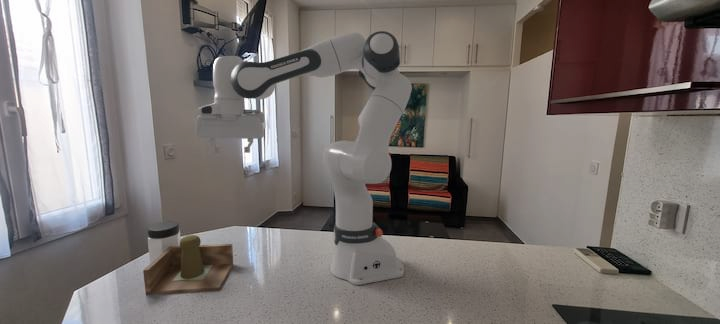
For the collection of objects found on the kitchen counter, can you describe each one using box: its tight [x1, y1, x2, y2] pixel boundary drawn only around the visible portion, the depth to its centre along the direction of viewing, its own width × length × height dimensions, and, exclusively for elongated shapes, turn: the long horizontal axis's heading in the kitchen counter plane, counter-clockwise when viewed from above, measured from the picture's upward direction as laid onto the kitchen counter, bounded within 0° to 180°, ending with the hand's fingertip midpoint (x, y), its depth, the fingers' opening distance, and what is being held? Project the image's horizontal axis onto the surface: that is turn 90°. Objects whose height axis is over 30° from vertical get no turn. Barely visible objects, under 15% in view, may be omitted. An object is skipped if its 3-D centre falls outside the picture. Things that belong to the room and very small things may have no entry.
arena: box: [142, 243, 234, 296], centre depth 85 cm, size 18×14×7 cm
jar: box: [147, 220, 182, 265], centre depth 94 cm, size 9×8×12 cm
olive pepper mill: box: [179, 234, 204, 279], centre depth 85 cm, size 6×6×11 cm
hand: (232, 152), depth 97 cm, fingers open, 8 cm apart
